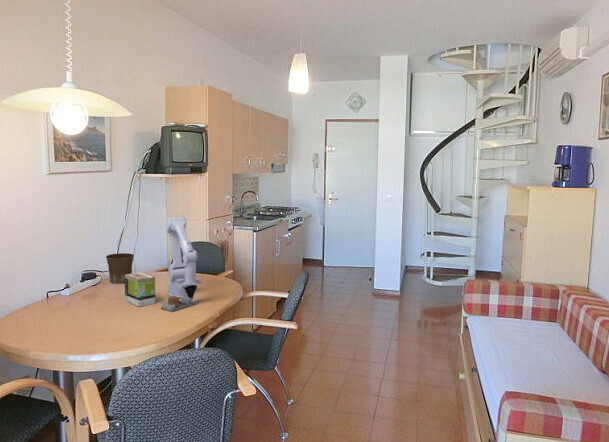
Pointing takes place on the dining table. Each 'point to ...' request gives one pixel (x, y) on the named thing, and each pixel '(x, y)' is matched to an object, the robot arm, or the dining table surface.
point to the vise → (171, 307)
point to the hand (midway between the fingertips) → (190, 299)
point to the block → (174, 300)
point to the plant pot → (119, 266)
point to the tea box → (140, 289)
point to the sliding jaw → (186, 300)
